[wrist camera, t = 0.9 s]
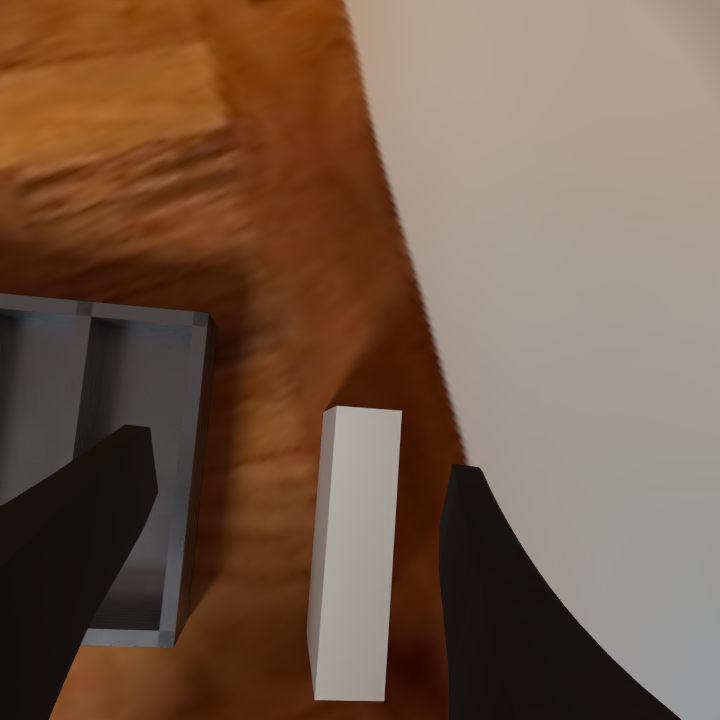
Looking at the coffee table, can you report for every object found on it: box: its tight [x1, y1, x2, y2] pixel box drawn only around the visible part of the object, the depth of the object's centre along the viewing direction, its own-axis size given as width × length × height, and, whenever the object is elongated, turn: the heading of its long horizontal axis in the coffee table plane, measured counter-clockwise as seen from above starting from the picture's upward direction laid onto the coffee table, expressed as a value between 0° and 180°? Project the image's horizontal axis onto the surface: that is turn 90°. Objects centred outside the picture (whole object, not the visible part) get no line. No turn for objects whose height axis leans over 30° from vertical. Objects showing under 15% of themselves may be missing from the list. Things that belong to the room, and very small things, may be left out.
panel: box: [306, 406, 402, 701], centre depth 24 cm, size 10×2×7 cm, turn 176°
